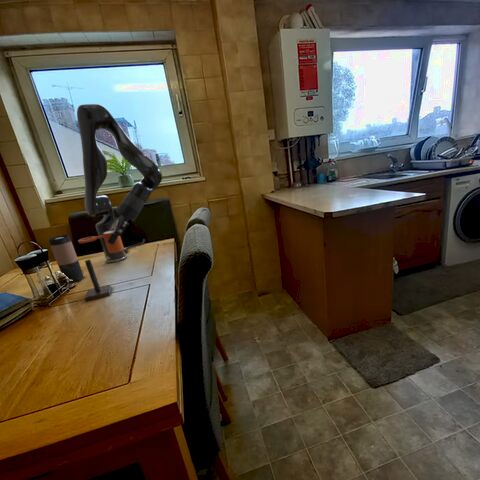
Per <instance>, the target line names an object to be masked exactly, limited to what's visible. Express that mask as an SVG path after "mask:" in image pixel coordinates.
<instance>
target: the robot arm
mask: <svg viewBox="0 0 480 480" xmlns="http://www.w3.org/2000/svg"><path fill="white" fill-rule="evenodd" d="M76 119H77V125H78V130H79V137H80V142H81V143H80V144H81V150H82V151H81V152H82V166H83V167H82V168H83V176H84V208H85V212H86V213H87V215H88V216H89V217H93V218H95V217H100V216H103V218H102V219H101V220H100V221H99V222H97V223H96V224H95V229H96V232H97V236H101V235H103V233H104V232H108V231H112V230H114V232H113V234H112V235H111V237H110V238H109V240H108V243H110V244H114V242H115V241H116V239H117V238H118V237H119V236H120V237H121V236H122V235H123V233H124V232H125V231H126V229H127V228H128V227H129V224H130V223H129V220H130V221H131V222H135V221H136V220H137V217H138V216H139V214H140V213H141V211H142V210H143V209H144V206H145V204H146V203H147V200H148V199H149V197H150V196H151V194H152V193H153V192H154V191H155V190H156V189H157V188H158V187H159V185H160V184H161V183H162V180H163V174H162V171H161V169H160V167H159V166H158V165H157V164H156V163H155V161H154V160H152V159H151V158H150V157H148V156H147V155H146V154H145V153H144V152H143V151H142V150H141V148H139V147H138V146H137V144H135V143H134V141H132V140H131V138H129V136H128V135H127V134H126V132H125V131H124V130H123V128H122V127H121V125H120V124H119V122H118V121H117V120H116V119H115V117H114V116H113V114H112V113H111V112H110V110H108V109H107V108H106V106H104V105H102V104H99V103H91V104H90V103H89V104H87V103H86V104H85V103H84V104H80V105H78V107H77V110H76ZM100 130H105V131H106V132H107V133H108V134H110V135H111V136H112V138H113V140H114V141H115V144H116V148H117V150H118V152H119V154H120V155H121V156H122V157H123V158H124V160H126V161H127V162H128V163H129V164H130V166H132V167H133V168H135V169H136V170H137V171H138V172H139V173H140V174H141V175H142V176H143V177H142V179H141V180H140V181H138V182H135V183H134V184H133V186H132V187H131V189H130V191H129V192H128V193H127V195H125V196H124V199H123V200H122V201H121V203H120V204H119V206H118V207H117V209H116V213H118V214H119V216H118V217H115V213H114V209H113V208H114V207H113V205H112V202H111V199H110V198H109V197H108V196H107V195H98V192H99V189H100V188H101V187H102V185H103V184H104V182H105V180H106V179H107V176H108V162H107V158H106V156H105V154H104V153H103V151H102V149H100V147H99V146H98V143H97V135H96V132H97V131H100ZM97 195H98V196H97ZM118 231H119V232H118ZM98 239H99V242H100V244H101V248H102V251H103V253H104V257H105V261H106V263H116V262H119V261H123V260H125V259H126V258H127V256H126V254H128V253H129V251H128V250H129V249H131V248H134V247H138V246H141V245H143V244H145V242H146V239H145V238H142V242H140V243H136V244H132V245H129V246H127V247H125V246H124V245H123V247H124V250H122V251H120V252H116V253H109V252H108V249H107V246H106V242H105V239H104V237H103V238H98Z"/></svg>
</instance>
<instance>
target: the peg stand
mask: <svg viewBox="0 0 480 480" xmlns="http://www.w3.org/2000/svg"><path fill="white" fill-rule="evenodd" d="M84 263H85V266H86V268H87V272H88V275H89V277H90V280H91V282H92V286H93V288H90V289H88V290H87V292H86V294H85V297H84V299H85V302H89V301H94V300H97V299H101V298H105V297H109V296H111V292H112V289H113V288H112V285H111V284H107V285H103V286H100V284H99V283H100V282H99V281H98V277H97V275H96V272H95V268H94V266H93V263H92V261H91V259H86V260H84Z"/></svg>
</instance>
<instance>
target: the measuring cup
mask: <svg viewBox="0 0 480 480" xmlns="http://www.w3.org/2000/svg"><path fill="white" fill-rule="evenodd" d="M113 232H114V230H112V231H108V232H104V233H103V235H101V236H98V235H93V236H86V237H83V238H80V239H78V240H77V242H78V243H79V244H86V243H90V242H91V243H92V242H94V241H96V240H98V239H99V238H103V237H104V239H105V242H106V246H107V249H108V252H109V253H116V252H120V251H122V250H124V249H125V246H124V247H123V240H122V237H121V236H119V237H118V238H117V239H116V241H115V242H114V244H110V243H108V240H109V238H110V237H111V235H112V234H113ZM118 232H119V231H118Z"/></svg>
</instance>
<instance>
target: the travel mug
mask: <svg viewBox="0 0 480 480" xmlns="http://www.w3.org/2000/svg"><path fill="white" fill-rule="evenodd" d="M48 243H49V245H50V247H51V251H52V254H53V256H54V258H55V261H56V264H57V266H58V268H59V270H60V273H61V272H62V273H64V274H65V275H66V276H67V277H68V278H69V279H73V281H70V282H69V283H68V284H73V283H76V282H80V281H82V280H83V279H84V278H85V277H84V273H83V271H82V267H81V264H80V261H79V259H78V255H77V253H76V251H75V248H74V245H73V243H72V240H71V238H70V235H69V234H63V235H58V236H57V235H56V236H53V237H50V238H49V239H48ZM62 273H61V274H62Z"/></svg>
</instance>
